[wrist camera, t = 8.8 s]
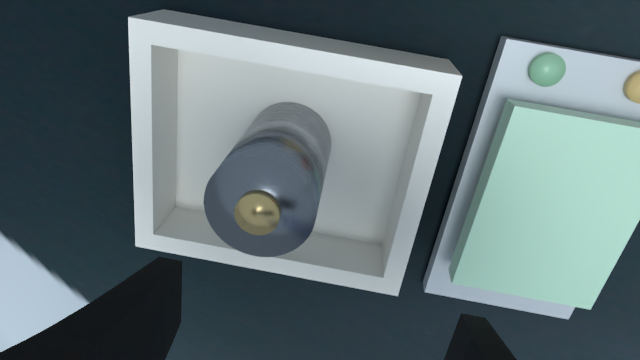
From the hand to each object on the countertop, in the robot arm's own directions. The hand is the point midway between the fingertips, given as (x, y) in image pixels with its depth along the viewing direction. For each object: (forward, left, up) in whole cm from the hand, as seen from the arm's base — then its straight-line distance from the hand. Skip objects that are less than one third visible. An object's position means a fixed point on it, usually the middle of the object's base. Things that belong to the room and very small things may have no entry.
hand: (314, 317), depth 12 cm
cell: (+1, +2, -9) cm, 10 cm away
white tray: (+1, +2, -10) cm, 10 cm away
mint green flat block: (+1, -9, -8) cm, 12 cm away
